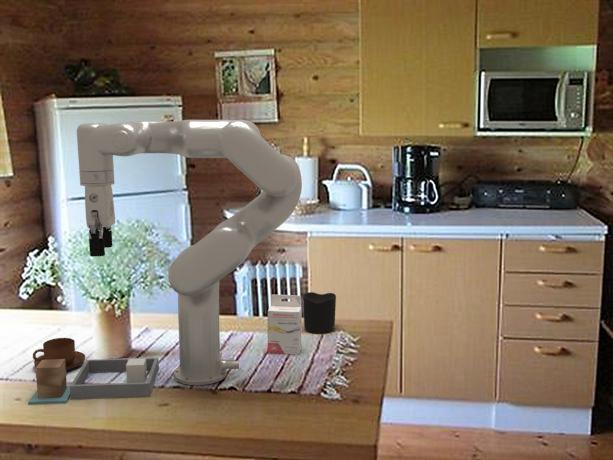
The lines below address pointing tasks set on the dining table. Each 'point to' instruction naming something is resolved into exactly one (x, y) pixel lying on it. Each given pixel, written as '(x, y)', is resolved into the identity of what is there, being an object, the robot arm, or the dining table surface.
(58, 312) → the dining table surface
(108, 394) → the grey square frame
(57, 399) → the pad
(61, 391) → the walnut block
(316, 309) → the pen holder
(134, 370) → the pale grey block
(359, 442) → the dining table surface
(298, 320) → the ink cartridge box
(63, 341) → the cup and saucer
